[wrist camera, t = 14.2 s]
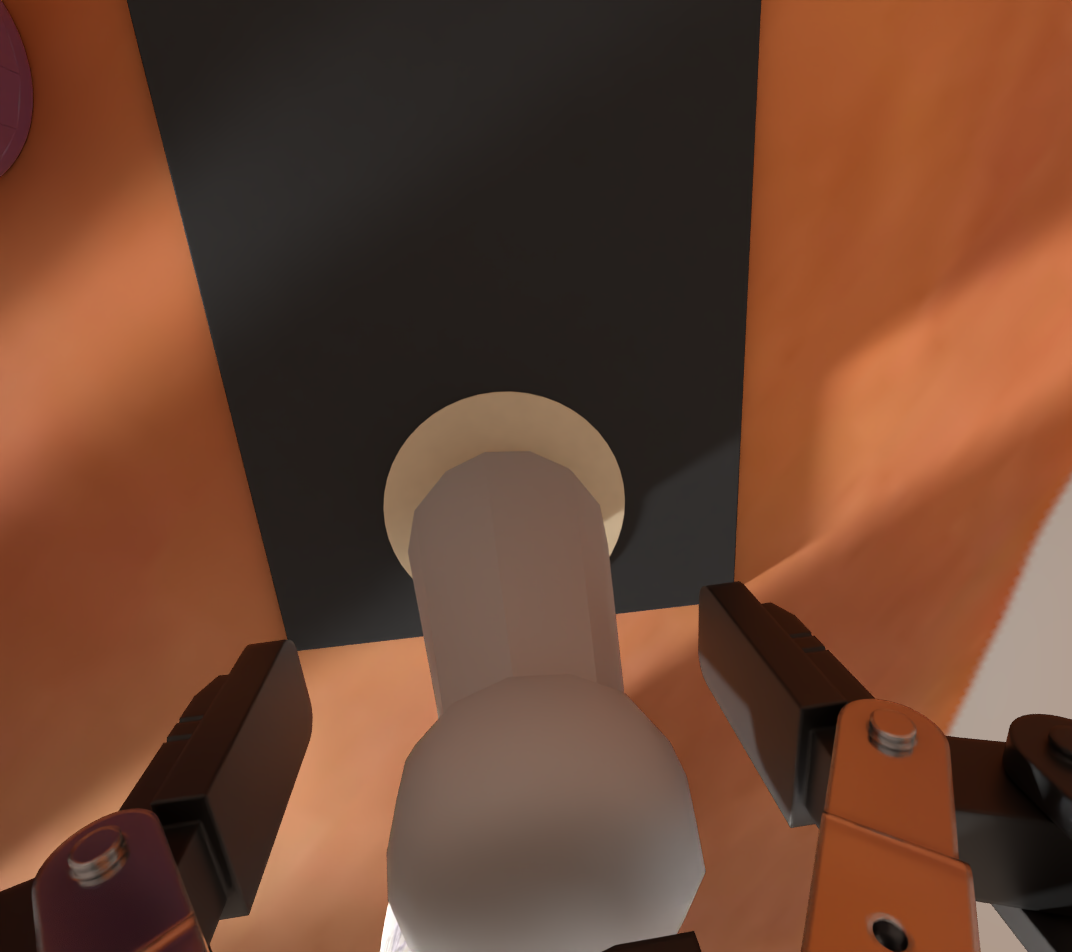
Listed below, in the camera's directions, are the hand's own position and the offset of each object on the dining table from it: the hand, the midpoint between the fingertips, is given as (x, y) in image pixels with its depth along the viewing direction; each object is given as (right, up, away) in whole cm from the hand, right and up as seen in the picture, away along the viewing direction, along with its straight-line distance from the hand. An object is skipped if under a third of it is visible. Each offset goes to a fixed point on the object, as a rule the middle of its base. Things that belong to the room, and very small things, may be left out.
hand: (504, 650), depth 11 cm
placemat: (-1, +12, +5) cm, 13 cm away
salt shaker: (0, +2, +8) cm, 8 cm away
